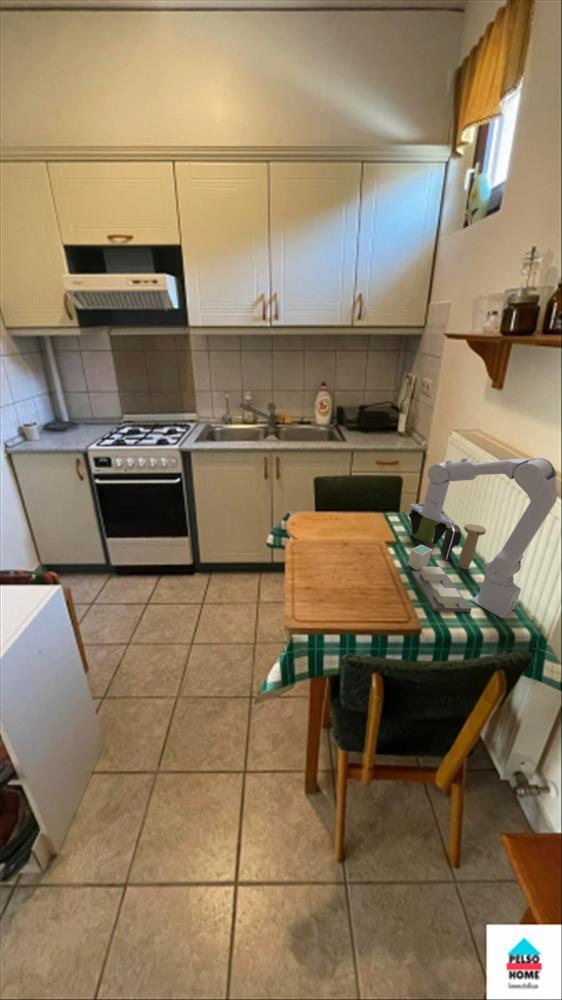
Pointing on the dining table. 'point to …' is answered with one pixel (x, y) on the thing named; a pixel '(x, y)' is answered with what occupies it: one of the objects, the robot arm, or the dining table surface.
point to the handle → (470, 544)
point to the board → (431, 594)
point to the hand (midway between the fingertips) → (424, 538)
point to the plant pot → (426, 528)
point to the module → (419, 557)
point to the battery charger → (450, 541)
